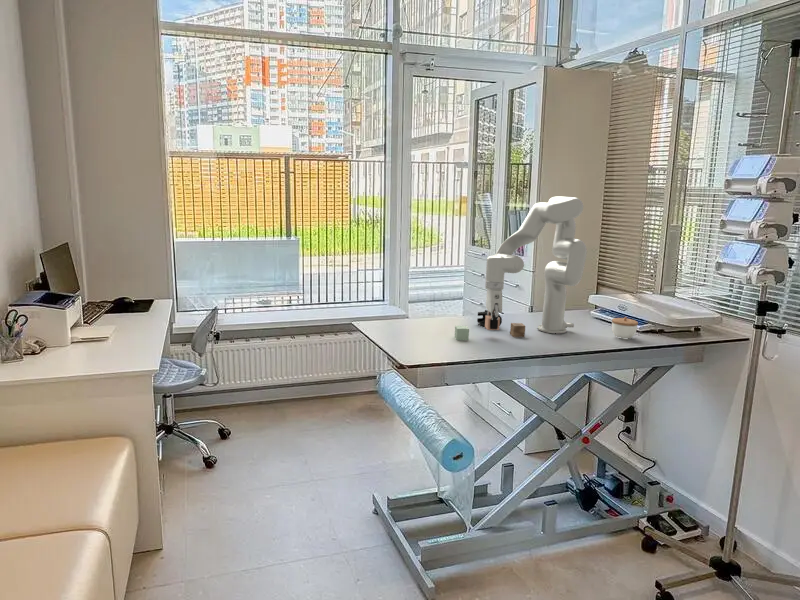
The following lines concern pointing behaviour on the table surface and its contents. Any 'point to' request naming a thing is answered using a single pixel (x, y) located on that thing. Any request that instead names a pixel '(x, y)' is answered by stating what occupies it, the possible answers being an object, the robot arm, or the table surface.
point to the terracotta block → (487, 323)
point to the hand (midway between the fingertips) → (492, 326)
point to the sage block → (461, 332)
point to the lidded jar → (624, 327)
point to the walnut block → (517, 330)
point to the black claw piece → (482, 320)
